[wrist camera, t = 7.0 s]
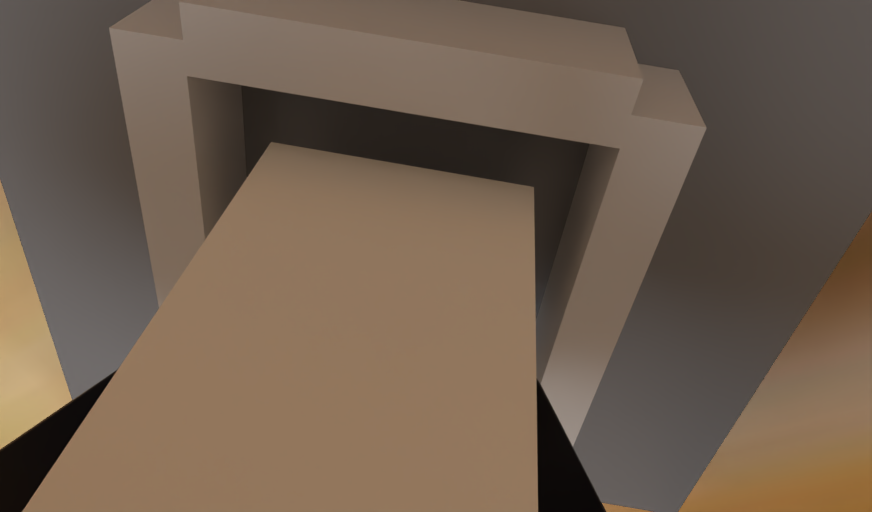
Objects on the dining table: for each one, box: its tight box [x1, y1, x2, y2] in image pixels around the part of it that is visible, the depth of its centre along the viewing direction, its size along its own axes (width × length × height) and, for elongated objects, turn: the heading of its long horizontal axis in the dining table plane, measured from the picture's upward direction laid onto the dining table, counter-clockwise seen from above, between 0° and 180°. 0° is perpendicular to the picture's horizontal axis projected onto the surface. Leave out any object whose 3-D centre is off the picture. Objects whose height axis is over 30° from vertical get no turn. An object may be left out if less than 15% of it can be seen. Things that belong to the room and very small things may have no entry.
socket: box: [0, 0, 872, 512], centre depth 12 cm, size 16×16×3 cm
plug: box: [22, 142, 538, 512], centre depth 8 cm, size 4×4×8 cm
